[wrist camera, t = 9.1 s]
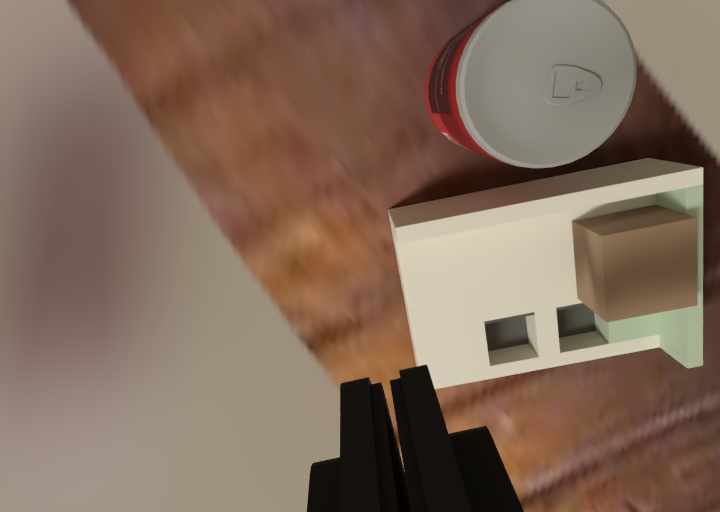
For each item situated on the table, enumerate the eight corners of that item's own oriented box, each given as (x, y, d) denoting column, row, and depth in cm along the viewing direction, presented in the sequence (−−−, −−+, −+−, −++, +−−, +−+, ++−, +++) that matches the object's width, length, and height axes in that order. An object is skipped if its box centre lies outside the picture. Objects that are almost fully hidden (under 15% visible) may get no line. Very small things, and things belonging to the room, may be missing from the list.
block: (571, 220, 33) (601, 236, 29) (655, 204, 32) (697, 217, 29) (577, 298, 34) (606, 322, 30) (658, 283, 34) (697, 305, 30)
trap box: (387, 209, 35) (395, 227, 29) (648, 157, 34) (703, 167, 29) (417, 373, 38) (429, 416, 33) (653, 329, 38) (702, 365, 33)
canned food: (552, 133, 33) (646, 145, 23) (435, 163, 34) (475, 189, 23) (535, 11, 31) (631, -37, 21) (410, 44, 32) (442, 14, 21)
